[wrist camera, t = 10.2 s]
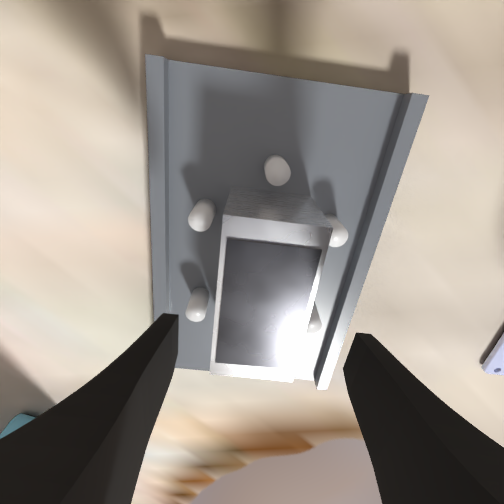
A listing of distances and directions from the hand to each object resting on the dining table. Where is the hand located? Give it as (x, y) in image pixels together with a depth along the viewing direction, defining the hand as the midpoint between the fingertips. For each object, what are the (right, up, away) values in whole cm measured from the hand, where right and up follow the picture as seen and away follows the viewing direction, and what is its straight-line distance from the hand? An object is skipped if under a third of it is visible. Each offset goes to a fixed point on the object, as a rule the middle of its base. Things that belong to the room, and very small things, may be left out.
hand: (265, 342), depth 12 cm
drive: (0, +3, +6) cm, 7 cm away
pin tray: (0, +4, +7) cm, 8 cm away
